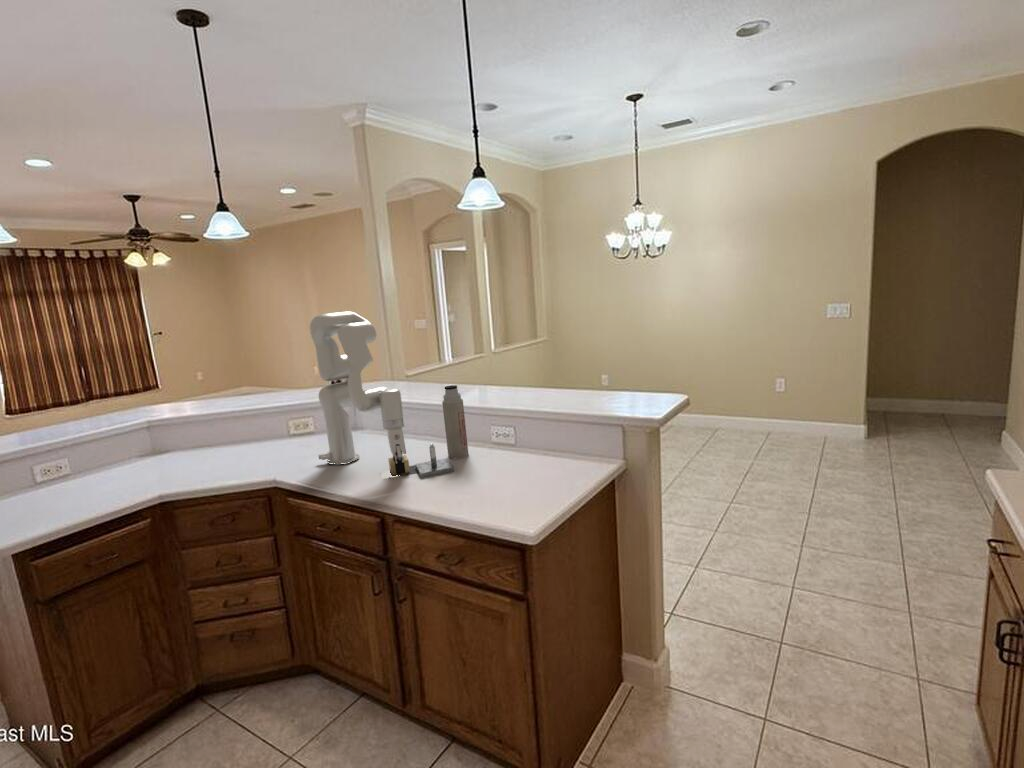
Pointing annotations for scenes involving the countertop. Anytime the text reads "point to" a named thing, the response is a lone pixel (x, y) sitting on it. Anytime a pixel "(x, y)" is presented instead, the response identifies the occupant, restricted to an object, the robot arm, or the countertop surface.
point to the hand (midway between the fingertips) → (399, 470)
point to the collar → (393, 468)
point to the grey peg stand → (434, 465)
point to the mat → (411, 471)
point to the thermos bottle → (454, 423)
